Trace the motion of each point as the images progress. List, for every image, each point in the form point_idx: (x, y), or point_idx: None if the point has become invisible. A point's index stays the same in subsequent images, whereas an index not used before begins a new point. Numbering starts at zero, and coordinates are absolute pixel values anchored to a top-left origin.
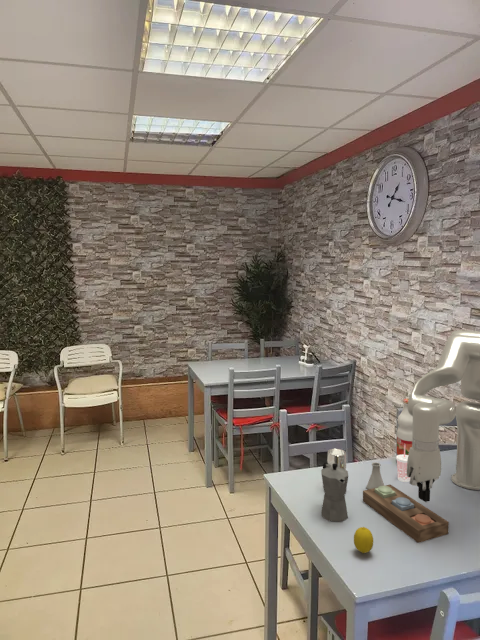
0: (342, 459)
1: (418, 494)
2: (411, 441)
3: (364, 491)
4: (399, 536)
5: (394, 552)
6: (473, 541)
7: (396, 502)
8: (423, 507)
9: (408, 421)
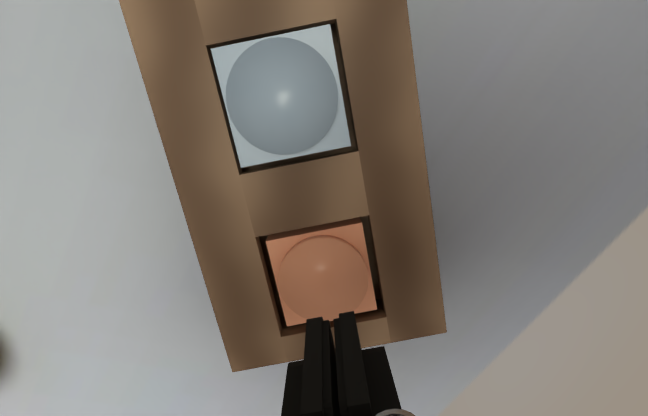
0: None
1: (305, 336)
2: None
3: None
4: (186, 269)
5: (113, 365)
6: (489, 359)
7: (227, 96)
8: (408, 159)
9: None
